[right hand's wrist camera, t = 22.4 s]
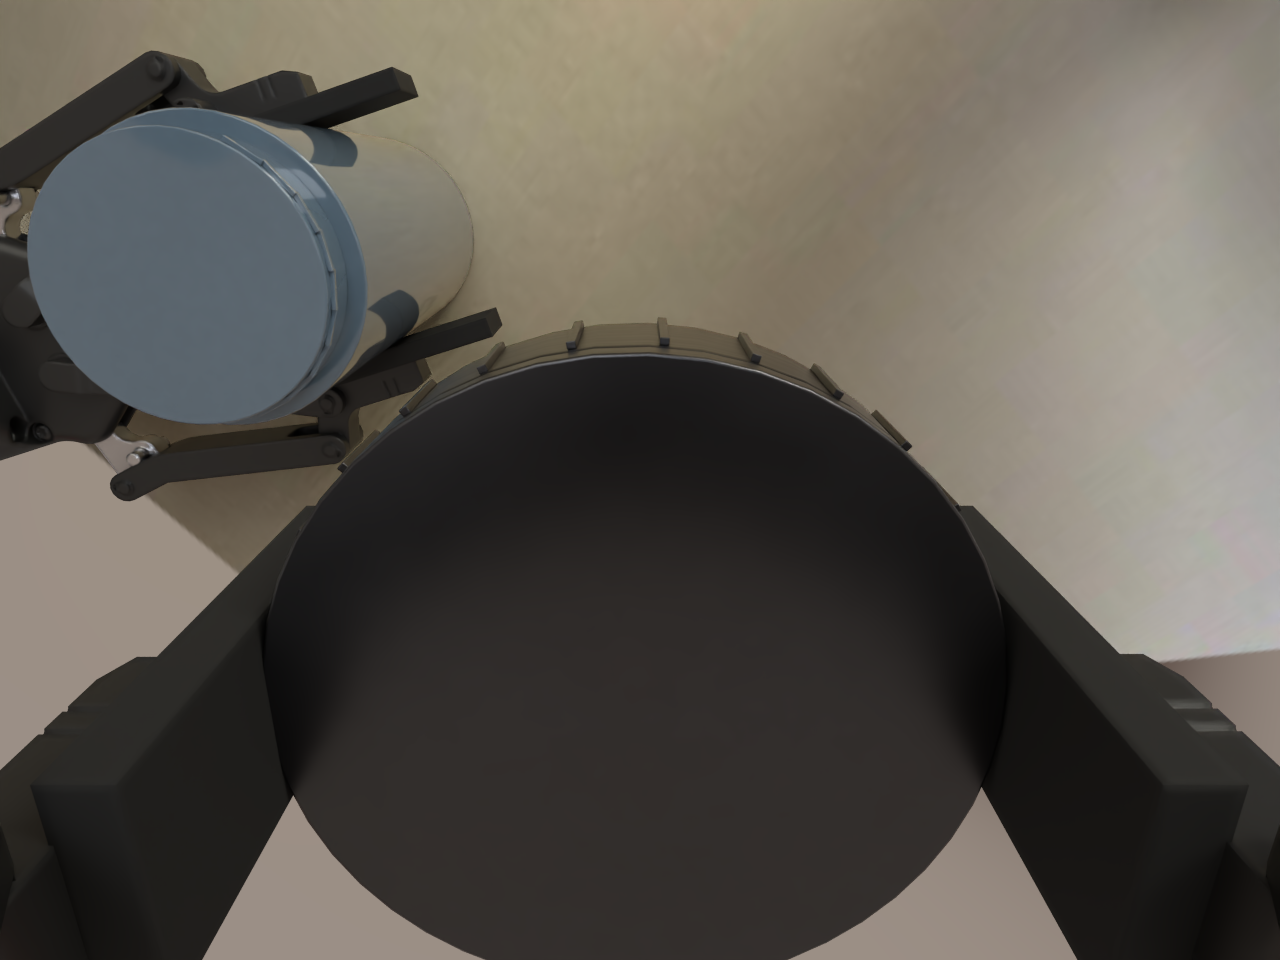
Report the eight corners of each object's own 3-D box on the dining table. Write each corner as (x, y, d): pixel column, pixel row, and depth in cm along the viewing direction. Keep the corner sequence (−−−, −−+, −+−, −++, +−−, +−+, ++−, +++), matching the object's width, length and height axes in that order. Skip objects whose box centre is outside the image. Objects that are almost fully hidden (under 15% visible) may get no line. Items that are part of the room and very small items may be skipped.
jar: (420, 359, 40) (263, 498, 23) (260, 262, 39) (-42, 333, 21) (506, 206, 38) (406, 232, 21) (340, 97, 36) (76, 23, 19)
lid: (795, 179, 10) (828, 181, 8) (1045, 746, 13) (1112, 840, 11) (179, 516, 12) (94, 579, 10) (525, 957, 14) (508, 1070, 13)
